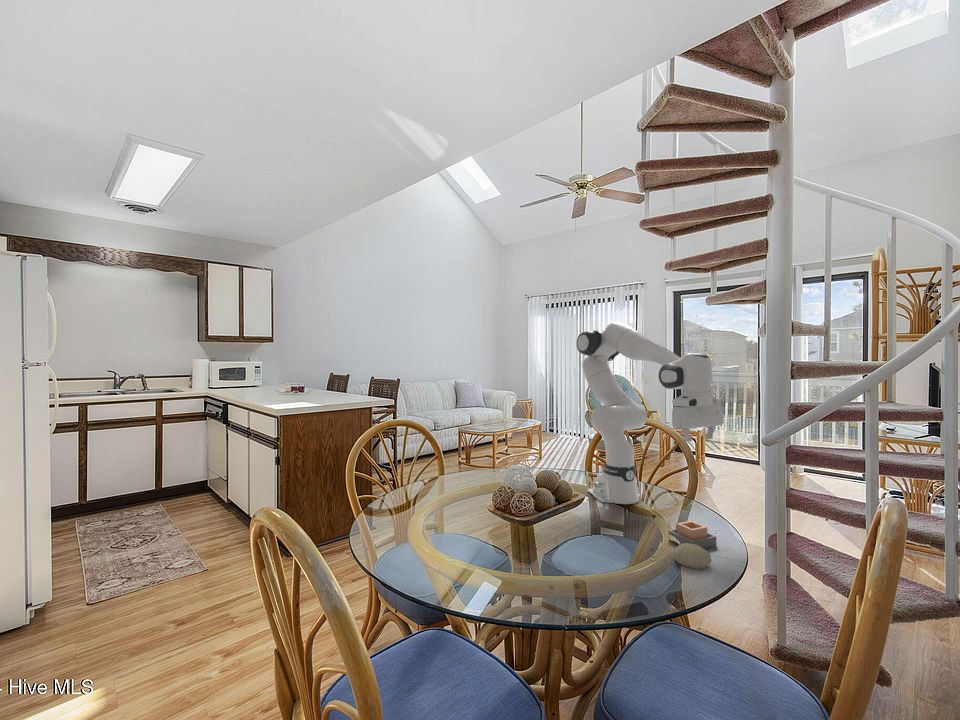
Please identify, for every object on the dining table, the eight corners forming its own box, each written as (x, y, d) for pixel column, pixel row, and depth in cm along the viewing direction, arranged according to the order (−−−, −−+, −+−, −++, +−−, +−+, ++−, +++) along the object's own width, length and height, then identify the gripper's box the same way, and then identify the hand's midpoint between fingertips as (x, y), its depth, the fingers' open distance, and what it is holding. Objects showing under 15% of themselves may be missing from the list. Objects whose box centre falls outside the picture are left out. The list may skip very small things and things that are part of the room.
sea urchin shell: (699, 568, 116) (680, 539, 121) (681, 580, 121) (663, 552, 126) (721, 560, 121) (701, 532, 126) (703, 572, 125) (685, 545, 130)
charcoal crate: (668, 539, 139) (668, 530, 139) (691, 535, 143) (691, 525, 143) (693, 551, 130) (692, 541, 130) (716, 546, 134) (716, 536, 134)
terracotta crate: (677, 539, 138) (676, 523, 138) (691, 536, 140) (691, 520, 140) (692, 546, 133) (692, 530, 133) (707, 543, 135) (707, 527, 135)
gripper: (712, 397, 158) (713, 436, 158) (668, 400, 151) (669, 441, 150) (728, 399, 152) (729, 439, 152) (682, 402, 145) (683, 444, 145)
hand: (698, 440), depth 151 cm, fingers open, 8 cm apart
